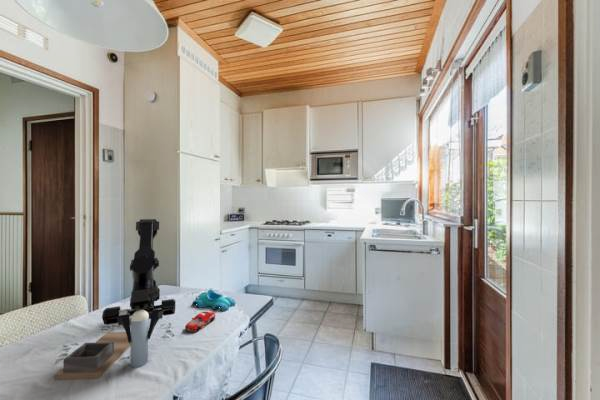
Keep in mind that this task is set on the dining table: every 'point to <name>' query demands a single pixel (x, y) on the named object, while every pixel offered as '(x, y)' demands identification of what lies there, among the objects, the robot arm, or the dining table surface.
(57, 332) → the dining table surface
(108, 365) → the board
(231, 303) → the toy car
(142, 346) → the post
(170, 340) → the dining table surface
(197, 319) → the race car
